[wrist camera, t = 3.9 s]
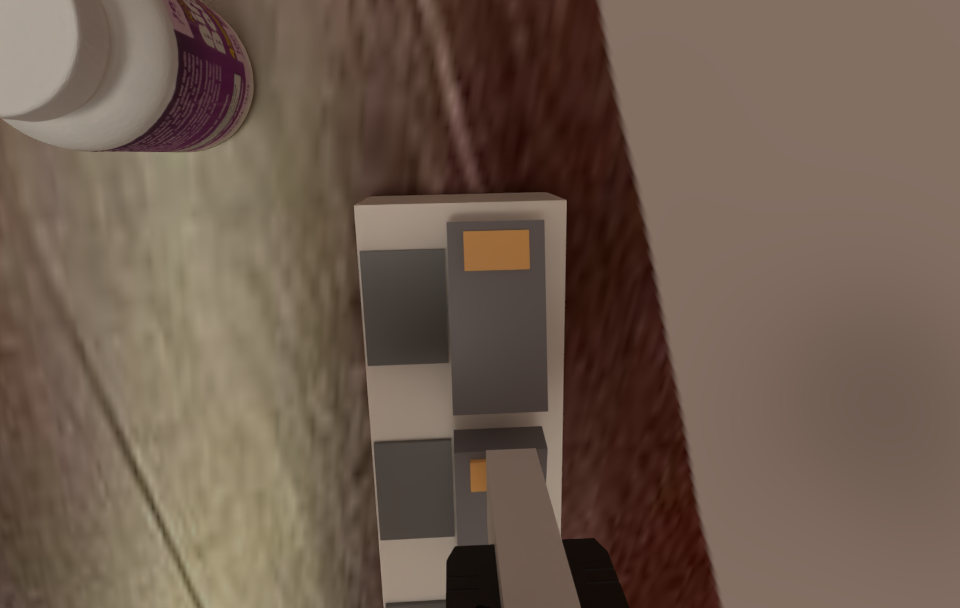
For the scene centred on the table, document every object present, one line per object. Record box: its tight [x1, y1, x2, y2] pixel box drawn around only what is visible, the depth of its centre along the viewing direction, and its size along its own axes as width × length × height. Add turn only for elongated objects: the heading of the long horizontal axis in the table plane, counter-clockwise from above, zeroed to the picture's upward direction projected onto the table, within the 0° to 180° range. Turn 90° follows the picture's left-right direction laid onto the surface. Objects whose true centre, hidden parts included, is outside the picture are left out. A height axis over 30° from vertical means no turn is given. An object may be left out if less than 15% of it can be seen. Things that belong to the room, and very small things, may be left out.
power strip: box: [354, 192, 567, 608], centre depth 23 cm, size 7×21×5 cm, turn 1°
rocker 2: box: [454, 426, 548, 546], centre depth 20 cm, size 3×6×1 cm, turn 1°
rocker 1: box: [446, 220, 548, 416], centre depth 19 cm, size 3×6×1 cm, turn 1°
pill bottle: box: [0, 0, 254, 152], centre depth 17 cm, size 5×5×10 cm
